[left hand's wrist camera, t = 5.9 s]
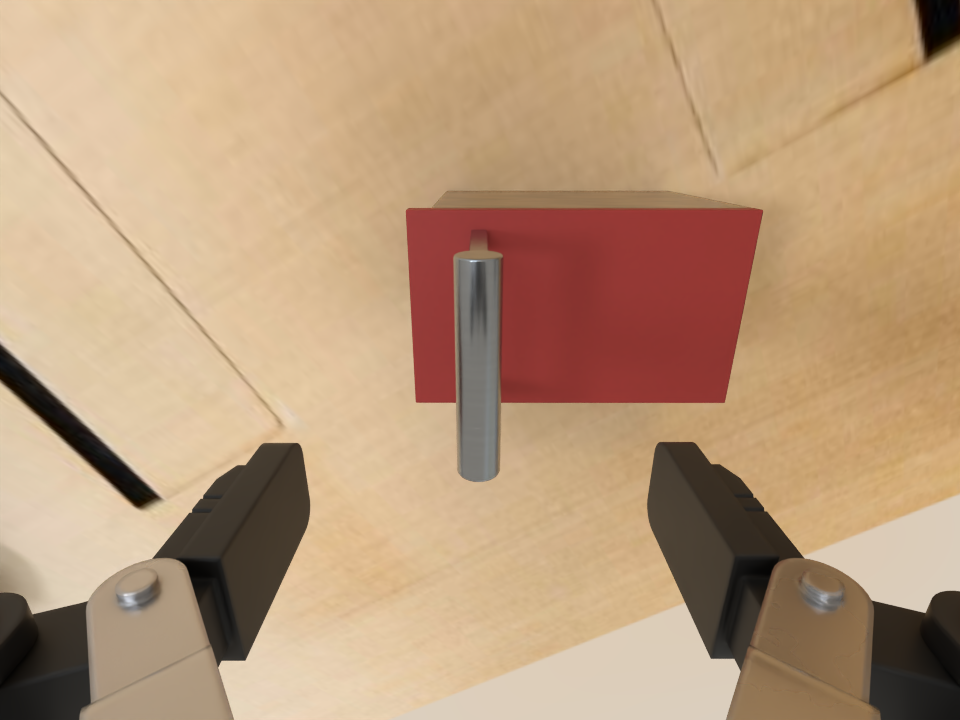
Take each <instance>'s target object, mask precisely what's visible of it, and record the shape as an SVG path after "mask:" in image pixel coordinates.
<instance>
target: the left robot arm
mask: <svg viewBox="0 0 960 720" xmlns="http://www.w3.org/2000/svg"><path fill="white" fill-rule="evenodd" d="M647 509H648V518H649V522H650V526H651V529H652V531H653V533H654V535H655V537H656V540H657V542H658V544H659V546H660V548H661V551H662V553H663V555H664V557H665V559H666V561H667V564H668V566H669V568H670V570H671V572H672V575H673V577H674V579H675V581H676V583H677V585H678V588H679V590H680V592H681V594H682V596H683V599H684V601H685V603H686V605H687V607H688V610H689V612H690V614H691V616H692V618H693V620H694V623H695V625H696V627H697V629H698V631H699V634H700V636H701V638H702V640H703V642H704V644H705V647H706V649H707V651H708V653H709V655H710V658H711V659H735V661H736V663H737V665H738V667H739V669H740V671H741V672H740V676H739V679H738V682H737V685H736V689H735V692H734V695H733V699H732V702H731V705H730V708H729V712H728V715H727V718H726V720H960V591H944V592H940V593H938V594H936V595H935V596H934V597H933V598H932V600H931V602H930V604H929V607H928V609H927V611H926V613H922V612H918V611H914V610H910V609H905V608H901V607H897V606H893V605H888V604H884V603H880V602H875V601H872V600H871V599H870V597H869V595H868V594H867V593H866V592H865V590H864V589H863V588H862V587H861V586H860V585H859V584H858V583H857V582H856V581H854V580H853V579H852V578H850V577H849V576H847V575H846V574H844V573H843V572H841V571H839V570H837V569H835V568H833V567H831V566H829V565H826V564H824V563H821V562H818V561H814V560H810V559H805V558H804V557H803V556H802V555H801V553H800V552H799V551H798V550H797V549H796V547H795V546H794V545H793V544H792V542H791V541H790V540H789V539H788V537H787V536H786V535H785V534H784V532H783V531H782V530H781V529H780V527H779V526H778V525H777V524H776V522H775V521H774V520H773V519H772V517H771V516H770V515H769V514H768V512H765V511H764V507H763V506H762V505H761V504H760V502H759V501H758V500H757V499H756V498H754V497H753V494H752V492H751V491H750V490H749V489H748V487H747V486H746V485H745V484H744V482H743V481H742V480H741V479H740V478H739V477H738V476H736V475H735V474H733V473H732V472H730V471H729V470H727V469H726V468H724V467H723V466H721V465H720V464H711V463H710V462H709V461H708V459H707V458H706V457H705V455H704V454H703V453H702V451H701V450H700V449H699V447H698V446H697V445H696V444H695V443H693V442H659V443H658V444H657V446H656V448H655V453H654V460H653V466H652V473H651V480H650V486H649V493H648V501H647ZM309 515H310V498H309V491H308V485H307V478H306V471H305V465H304V458H303V452H302V448H301V446H300V445H299V444H298V443H263V444H262V445H261V446H260V447H259V448H258V450H257V451H256V452H255V454H254V455H253V456H252V458H251V459H250V460H249V462H248V463H247V464H246V465H237V466H236V467H234V468H233V469H231V470H230V471H228V472H227V473H225V474H224V475H222V476H221V477H219V478H218V479H216V481H215V482H214V483H213V484H212V486H211V487H210V488H209V489H208V491H207V492H206V493H205V494H204V495H203V499H200V500H199V502H198V503H197V504H196V505H195V507H194V508H193V509H192V513H189V514H188V515H187V517H186V518H185V519H184V520H183V521H182V523H181V524H180V525H179V526H178V528H177V529H176V530H175V531H174V533H173V534H172V535H171V536H170V538H169V539H168V540H167V541H166V542H165V544H164V545H163V546H162V547H161V549H160V550H159V551H158V552H157V554H156V555H155V556H154V557H153V559H150V560H146V561H142V562H139V563H136V564H134V565H131V566H129V567H127V568H125V569H123V570H121V571H119V572H117V573H116V574H114V575H113V576H111V577H110V578H108V579H107V580H106V581H104V582H103V583H102V584H101V585H100V586H99V587H98V588H97V589H96V590H95V592H94V593H93V594H92V595H91V597H90V599H89V601H87V602H83V603H80V604H75V605H71V606H67V607H62V608H58V609H54V610H50V611H45V612H41V613H37V614H33V615H32V613H31V610H30V608H29V606H28V604H27V601H26V599H25V598H24V597H23V596H21V595H19V594H14V593H0V720H234V718H233V715H232V712H231V708H230V705H229V702H228V699H227V695H226V692H225V689H224V685H223V682H222V679H221V676H220V672H219V669H218V667H219V665H220V663H221V661H245V660H246V658H247V656H248V654H249V652H250V649H251V647H252V645H253V643H254V641H255V639H256V636H257V634H258V632H259V630H260V628H261V626H262V623H263V621H264V619H265V617H266V615H267V613H268V610H269V608H270V606H271V604H272V602H273V600H274V598H275V595H276V593H277V591H278V589H279V587H280V585H281V582H282V580H283V578H284V576H285V574H286V572H287V569H288V567H289V565H290V563H291V561H292V559H293V556H294V554H295V552H296V550H297V548H298V546H299V544H300V541H301V539H302V537H303V535H304V533H305V531H306V528H307V525H308V521H309Z"/></svg>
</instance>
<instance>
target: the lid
mask: <svg viewBox="0 0 960 720" xmlns="http://www.w3.org/2000/svg"><path fill="white" fill-rule="evenodd" d="M762 214H763V210H760V209H755V208H409V209H407V210H406V222H407V241H408V260H409V280H410V299H411V318H412V337H413V356H414V375H415V394H416V402H417V403H456V422H457V470H458V473H459V474H460V476H461V477H463V478H464V479H466V480H469V481H474V482H483V481H488V480H491V479H493V478H495V477H496V476H497V475H498V473H499V471H500V432H501V403H725V399H726V394H727V389H728V384H729V379H730V374H731V369H732V364H733V359H734V354H735V349H736V344H737V339H738V334H739V329H740V324H741V319H742V314H743V309H744V304H745V299H746V294H747V289H748V284H749V279H750V274H751V269H752V264H753V259H754V254H755V249H756V244H757V239H758V234H759V229H760V224H761V219H762Z"/></svg>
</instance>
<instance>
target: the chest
mask: <svg viewBox="0 0 960 720" xmlns="http://www.w3.org/2000/svg"><path fill="white" fill-rule="evenodd" d="M432 208H749V207H744V206H739V205H734V204H729V203H724V202H720V201H715V200H710V199H705V198H700V197H695V196H690V195H685V194H680V193H675V192H670V191H447V192H446V193H445V194H444V195H443V196H442V197H441V198H440V199H439V200H438V202H437V203H436V204H435V205H434V206H433V207H432Z"/></svg>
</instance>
